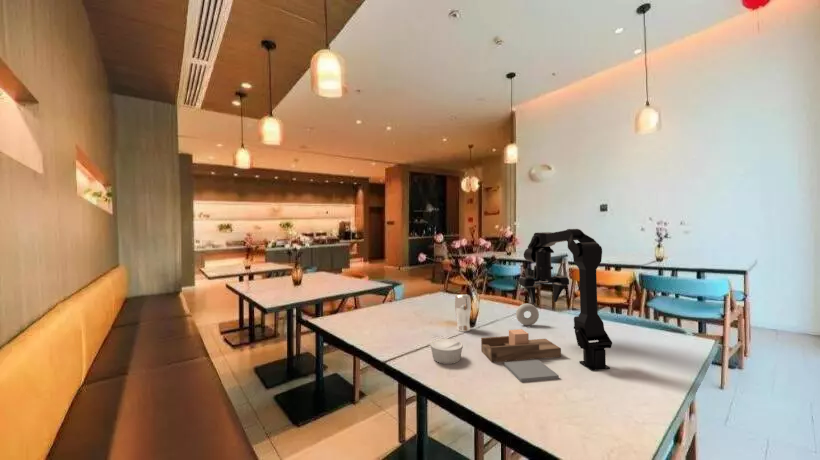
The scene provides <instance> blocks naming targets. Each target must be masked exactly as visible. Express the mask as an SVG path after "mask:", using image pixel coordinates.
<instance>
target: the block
mask: <svg viewBox="0 0 820 460" xmlns="http://www.w3.org/2000/svg"><path fill="white" fill-rule="evenodd" d="M508 336H509V344H510V345H518V344H529V340H530V339H529V333H528V332H527V331H526V330H524V329H509V330H508Z"/></svg>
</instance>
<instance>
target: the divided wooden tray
mask: <svg viewBox="0 0 820 460" xmlns="http://www.w3.org/2000/svg"><path fill="white" fill-rule="evenodd" d="M480 339H481V340H480V342H481V346H480V347H481V353H482V354H483V355H484V356H485V357H486V358H487V359H488V360H489V361H490V362H491V363H501V362H502V363H504V362H514V361H527V360H540V359H550V358H553V359H554V358H561V357H562V348H561V347H560V346H559V345H556V344H555V343H553V342H552V341H550V340H548V339H547V338H537V339H529V344H518V345H510V344H509V335H503V336H490V337H489V336H488V337H481V338H480Z"/></svg>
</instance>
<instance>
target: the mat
mask: <svg viewBox="0 0 820 460" xmlns="http://www.w3.org/2000/svg"><path fill="white" fill-rule="evenodd" d="M503 366H504V367H505V368H506V369H507V370H508V371H509V372H510V373H511V374H512V375H513V377H515V378H516V380H518V381H519V382H520V383H526V382H537V381H545V380H546V381H547V380H559V379H560V378H559V376H560V375H559V373H556V372H555V371H554V370H553V369H551V368H550V367H548V366H547V365H546V364H545V363H543V361H541V360H540V359H528V360H516V361H503Z"/></svg>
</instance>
